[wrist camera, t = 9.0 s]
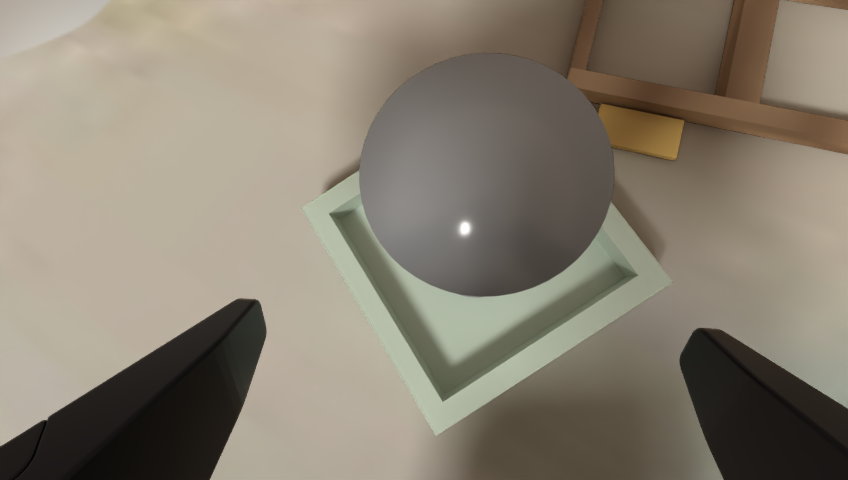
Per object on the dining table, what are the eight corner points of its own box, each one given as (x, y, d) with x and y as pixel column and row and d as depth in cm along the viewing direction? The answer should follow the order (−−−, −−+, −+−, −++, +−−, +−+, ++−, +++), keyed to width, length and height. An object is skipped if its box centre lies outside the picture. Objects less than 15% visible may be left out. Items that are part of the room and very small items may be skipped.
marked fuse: (545, 240, 19) (669, 144, 7) (483, 318, 19) (504, 352, 7) (466, 181, 20) (461, 10, 8) (406, 255, 20) (310, 191, 8)
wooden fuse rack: (1130, 34, 18) (1168, 18, 17) (1114, 256, 17) (1154, 253, 16) (598, -46, 22) (604, -63, 21) (552, 134, 20) (556, 125, 19)
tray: (651, 284, 19) (673, 282, 17) (439, 421, 19) (435, 436, 17) (506, 93, 21) (510, 71, 19) (316, 216, 21) (301, 208, 19)
